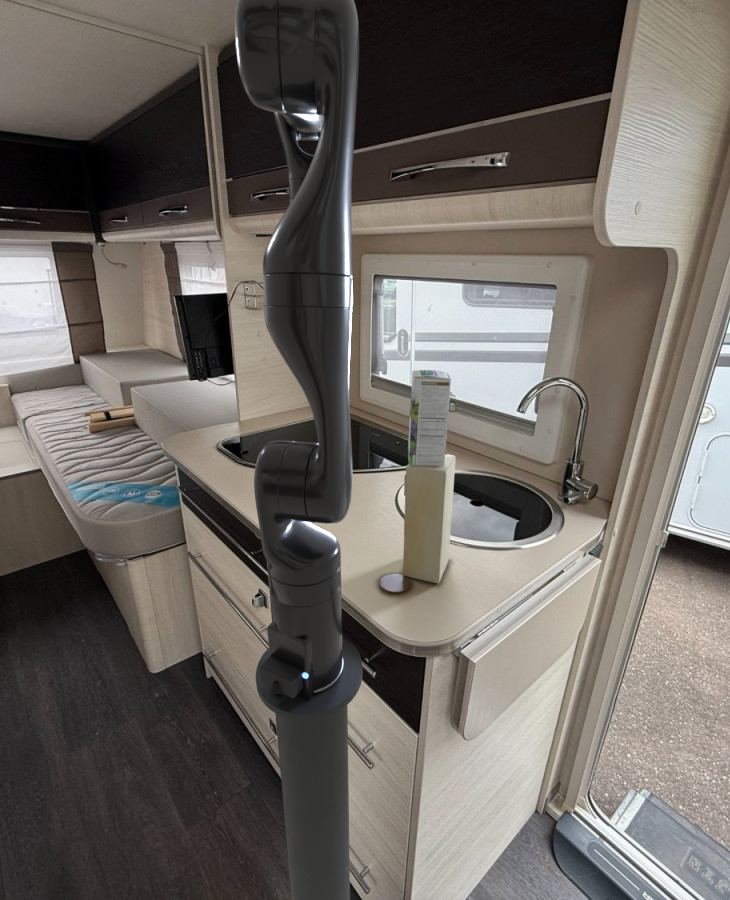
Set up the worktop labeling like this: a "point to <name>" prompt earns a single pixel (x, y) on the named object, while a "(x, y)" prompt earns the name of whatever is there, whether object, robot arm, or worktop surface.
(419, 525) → the tall cream pillar
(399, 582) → the brown glossy disc
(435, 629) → the worktop surface
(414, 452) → the syrup box
